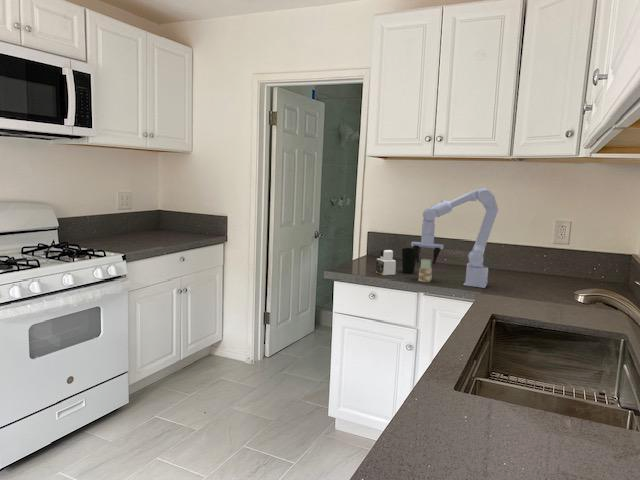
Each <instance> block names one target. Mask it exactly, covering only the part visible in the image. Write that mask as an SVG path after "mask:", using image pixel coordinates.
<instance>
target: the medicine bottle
mask: <svg viewBox="0 0 640 480" xmlns="http://www.w3.org/2000/svg"><path fill="white" fill-rule="evenodd" d="M393 256H394V251H393V250H392V249H387V248H384V249H380V255H379V257H380V258H376V264H375V265H376V266H375V267H376V268H375V273H376V274H379V275H381V276H390V275H391V276H394V275H396V269H397V268H396V267H397V261H396V260H395V259H393Z"/></svg>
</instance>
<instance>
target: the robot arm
mask: <svg viewBox="0 0 640 480" xmlns="http://www.w3.org/2000/svg"><path fill="white" fill-rule="evenodd" d="M477 200H478V202H479V203H481V204H482V206H483V207H484V209H485V213H484V216H483V219H482V222H481V225H480V228H479V232H478V234H477V237H476V239H475V243H474V245H473V247H472V249H471V251H469V253H468V255H467V257H468V258H467V259H468V263H466V273H465V282H464V283H463V284H462V285H463V286H467V287H473V288H474V287H475V288H476V287H477V288H481V289H482V288H483V289H485V288H486V287H487V285H488V278H489V277H488V275H489V268H488V267H485V266H484V262H485V261H484V254H485V249H486V246H487V243H488V242H489V241H488V240H489V238H490V237H489V236H490V235H491V232H492V229H493V226H494V223H495V219H496V218H497V214H498V211H499V207H498V204H497V201H496V198H495V195H494V194H493V192H492V191H491V190H490V189H489V188H485V187H481V188H479V189H476V190H475V189H474V190H472V191H469V192H467V193H465V194H462V195H461V196H459V197H456V198H455V199H452V200H450V201H449V200H440V201H439V202H438V203H437V204H435V205H433V204H431V205H430V207H427V208H426V209H424V210H423V212H422V218H423V219H422V224H421V227H422V228H421V240H420V241H411V247H412V248H413V250H414V252H415V255H416V263H420V253H421V248H430V249H433V258H432V265H435V264H436V263H437V260H438V257H439V254H440V253H441V251H442V250H443V249H444V244H441V243H440V244H439V243H434V242H435V229H436V228H435V227H436V224H435V223H436V221H435V220H436V218H439V217H442V216H444V215H446V214H449V213H451V212H452V211H453V208H455V207H458V206H461V205H462V204H465V203H467V202H477Z"/></svg>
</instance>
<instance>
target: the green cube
mask: <svg viewBox="0 0 640 480" xmlns="http://www.w3.org/2000/svg"><path fill="white" fill-rule="evenodd" d="M432 262H433V259H429V258H428V259H427V258H422V259H421V260H420V268H421V269H430V268H432Z"/></svg>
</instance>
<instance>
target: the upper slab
mask: <svg viewBox="0 0 640 480" xmlns="http://www.w3.org/2000/svg"><path fill="white" fill-rule="evenodd" d="M431 274H433V267H431V268H430V269H421V267H419V269H418V276H419V275H424V276H430V275H431Z"/></svg>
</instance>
